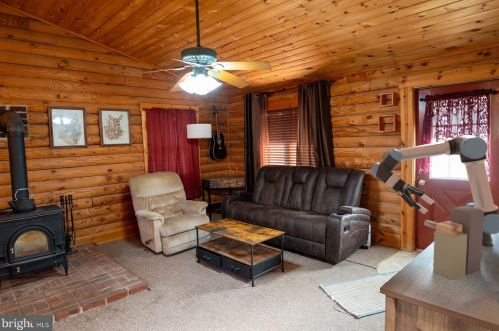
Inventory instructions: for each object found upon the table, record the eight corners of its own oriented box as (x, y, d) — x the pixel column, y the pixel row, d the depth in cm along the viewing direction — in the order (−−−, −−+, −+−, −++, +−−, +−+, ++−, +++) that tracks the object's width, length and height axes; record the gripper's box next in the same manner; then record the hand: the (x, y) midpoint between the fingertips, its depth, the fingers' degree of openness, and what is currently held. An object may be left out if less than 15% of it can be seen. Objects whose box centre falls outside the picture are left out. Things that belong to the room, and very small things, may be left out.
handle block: (431, 223, 164) (432, 216, 163) (462, 233, 149) (462, 225, 148) (420, 226, 161) (420, 218, 160) (449, 235, 146) (450, 227, 146)
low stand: (446, 267, 158) (448, 228, 156) (465, 275, 150) (467, 234, 147) (433, 270, 155) (434, 231, 153) (451, 279, 146) (453, 237, 144)
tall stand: (461, 263, 162) (464, 205, 158) (480, 271, 153) (484, 210, 149) (448, 266, 159) (451, 208, 155) (467, 275, 150) (470, 212, 146)
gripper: (399, 181, 195) (430, 204, 186) (384, 195, 177) (418, 221, 169) (406, 172, 190) (439, 195, 182) (392, 185, 173) (427, 211, 164)
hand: (429, 207), depth 175 cm, fingers open, 13 cm apart
